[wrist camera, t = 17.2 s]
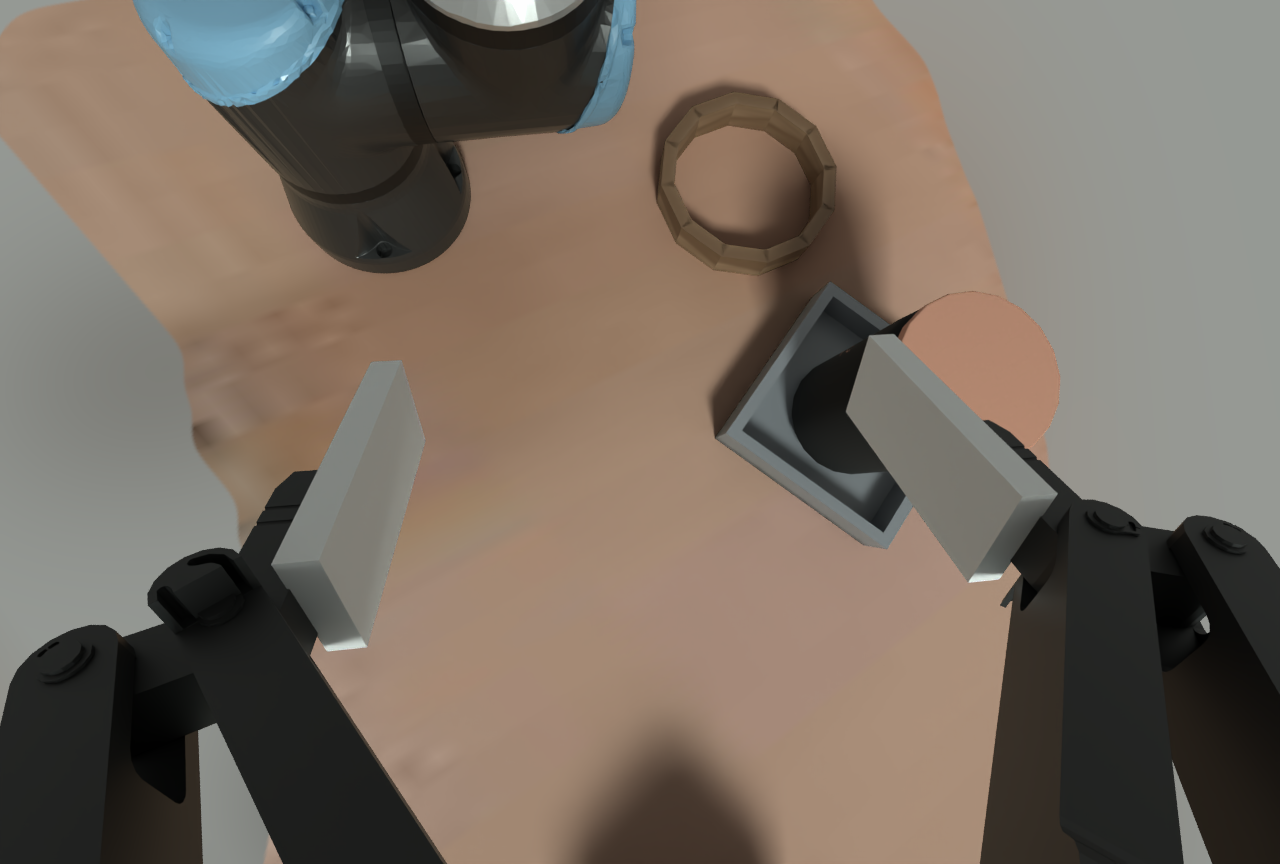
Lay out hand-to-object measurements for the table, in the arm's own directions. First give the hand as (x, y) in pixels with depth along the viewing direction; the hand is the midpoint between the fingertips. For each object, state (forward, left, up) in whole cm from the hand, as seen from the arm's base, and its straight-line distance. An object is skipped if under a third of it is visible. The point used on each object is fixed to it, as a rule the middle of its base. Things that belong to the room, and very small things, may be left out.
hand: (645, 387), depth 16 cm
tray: (+16, +16, -34) cm, 40 cm away
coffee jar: (+16, +16, -33) cm, 40 cm away
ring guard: (-4, +29, -34) cm, 45 cm away
